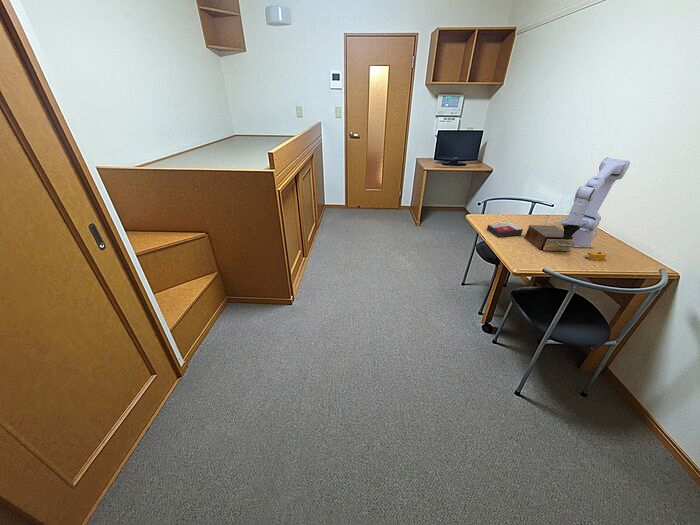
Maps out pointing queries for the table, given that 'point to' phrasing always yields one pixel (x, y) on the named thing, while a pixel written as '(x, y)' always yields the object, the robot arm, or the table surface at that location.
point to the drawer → (558, 244)
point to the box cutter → (595, 255)
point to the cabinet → (543, 234)
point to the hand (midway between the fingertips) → (565, 238)
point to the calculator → (504, 229)
